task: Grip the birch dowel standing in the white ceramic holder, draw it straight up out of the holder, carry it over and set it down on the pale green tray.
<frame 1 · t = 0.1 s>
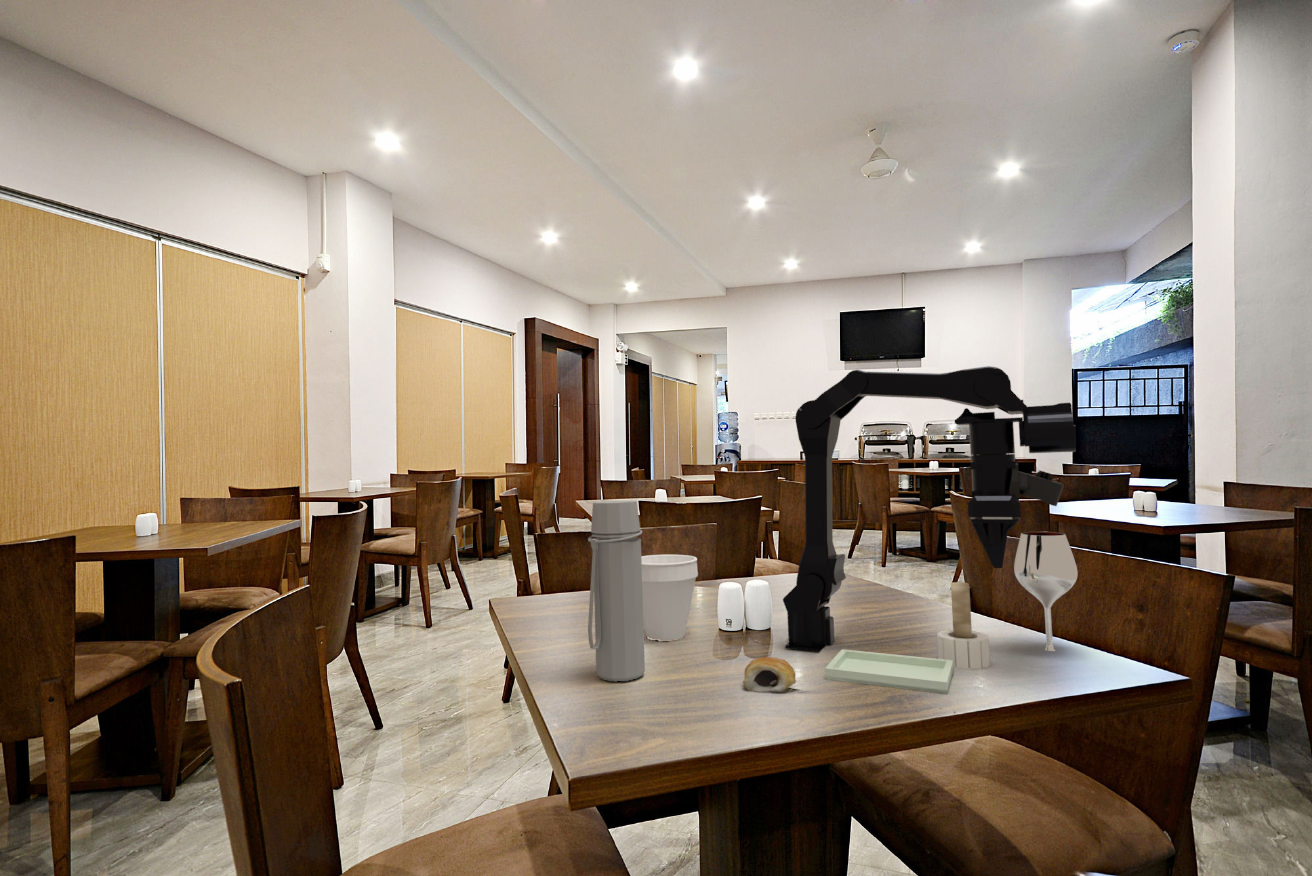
hand: (998, 563, 94), 14 cm above the table, tool pointing down, fingers open, 9 cm apart
wineglass: (1050, 656, 98), on the table
water bottle: (616, 678, 94), on the table
holder: (964, 667, 94), on the table
tray: (890, 680, 89), on the table
pastry: (769, 686, 90), on the table
dowel: (964, 661, 94), point 1 cm above the table, touching holder
cup: (665, 637, 116), on the table
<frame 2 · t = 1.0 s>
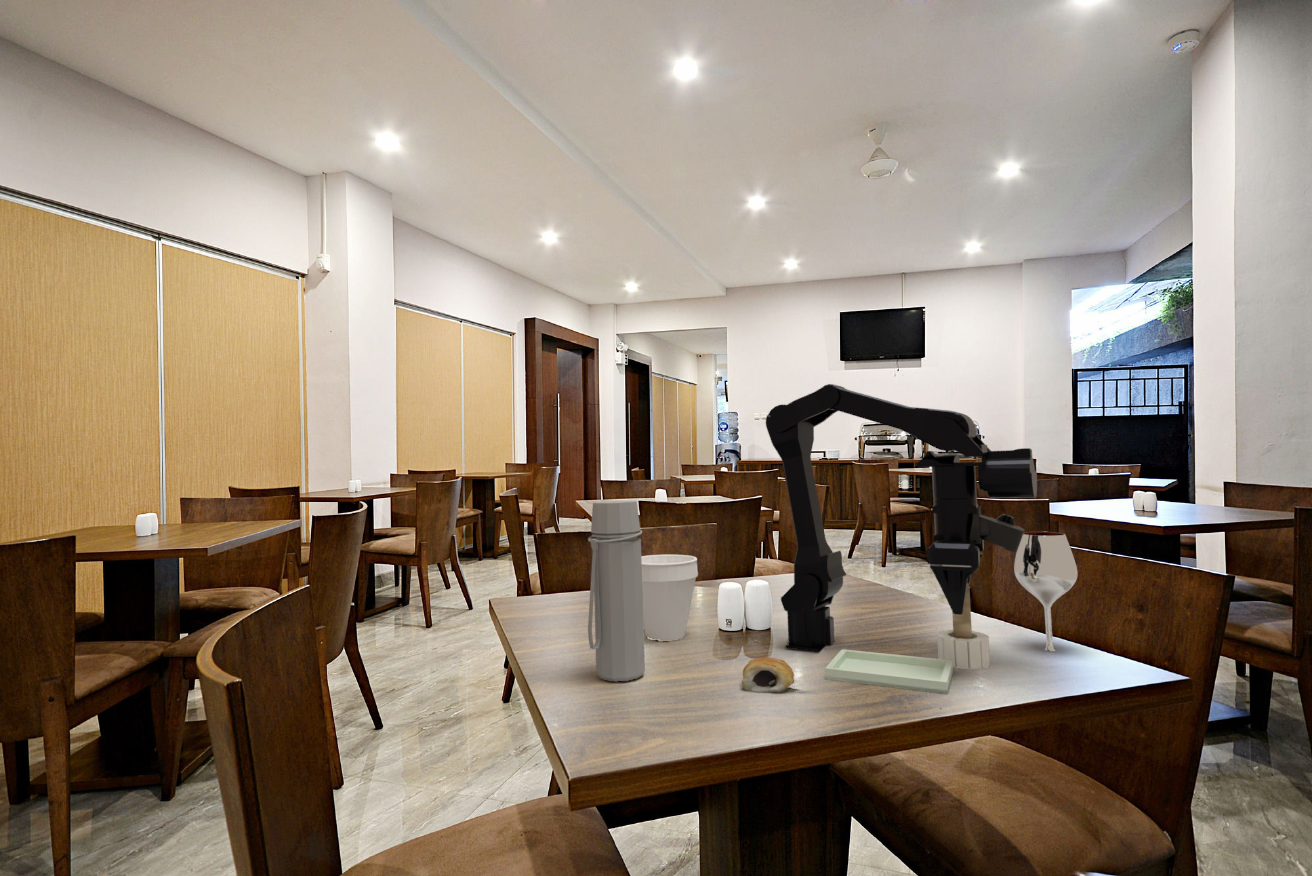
hand: (960, 607, 94), 8 cm above the table, tool pointing down, fingers open, 9 cm apart
nothing on the table moved.
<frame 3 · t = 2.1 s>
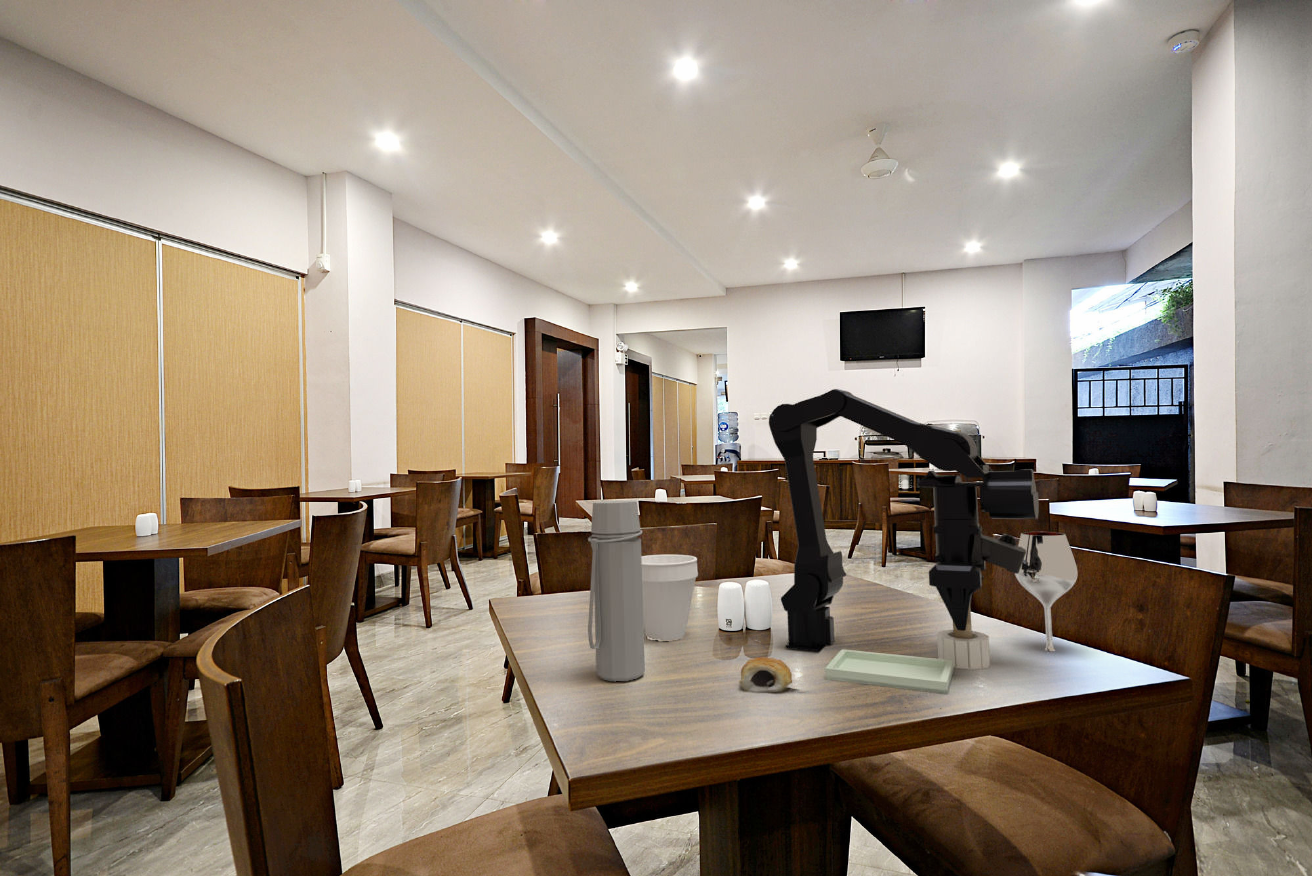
hand: (962, 627, 94), 6 cm above the table, tool pointing down, fingers closed on dowel, 2 cm apart
dowel: (964, 661, 94), point 1 cm above the table, touching gripper, holder
everything else where it was.
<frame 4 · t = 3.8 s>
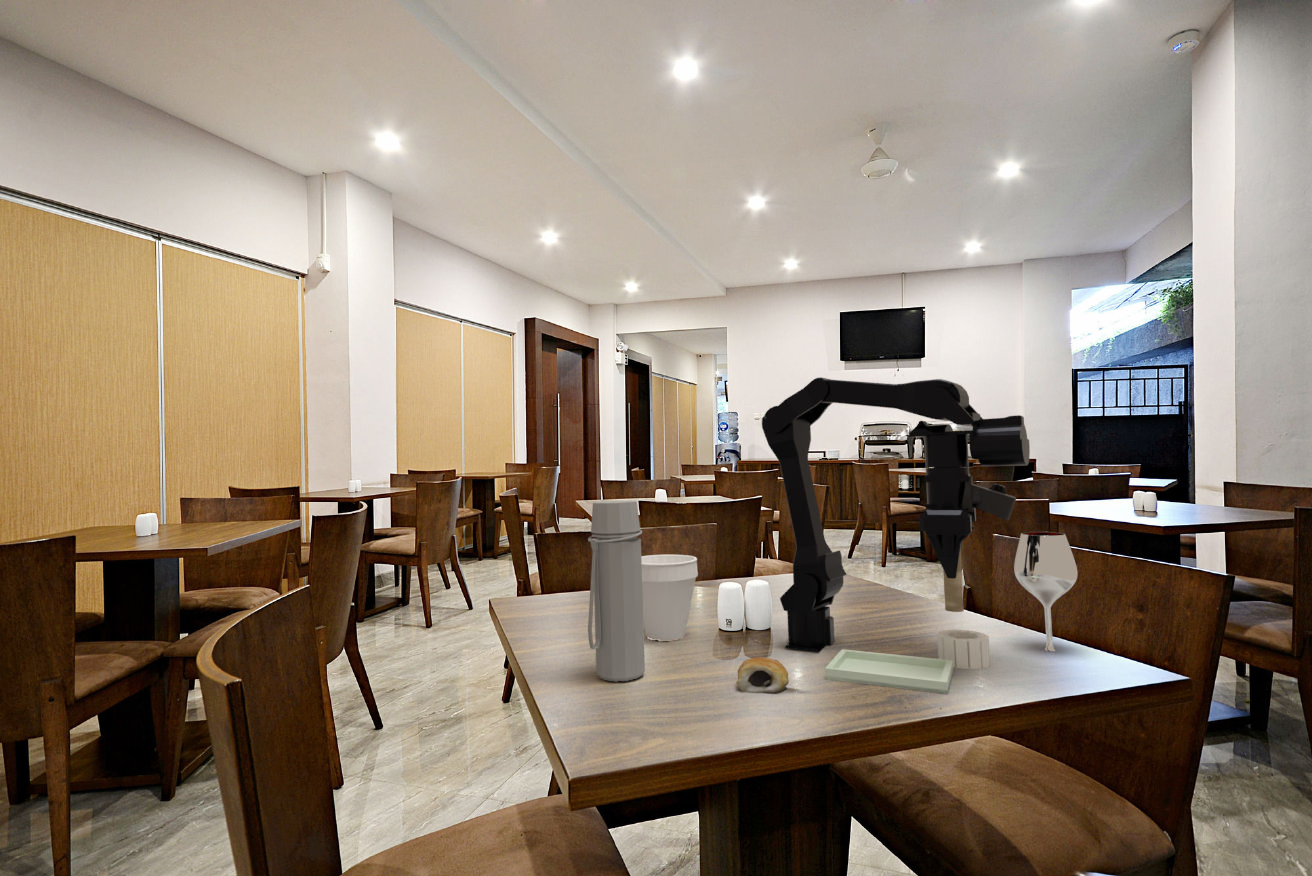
hand: (952, 576, 94), 13 cm above the table, tool pointing down, fingers closed on dowel, 2 cm apart
dowel: (954, 610, 94), point 8 cm above the table, touching gripper
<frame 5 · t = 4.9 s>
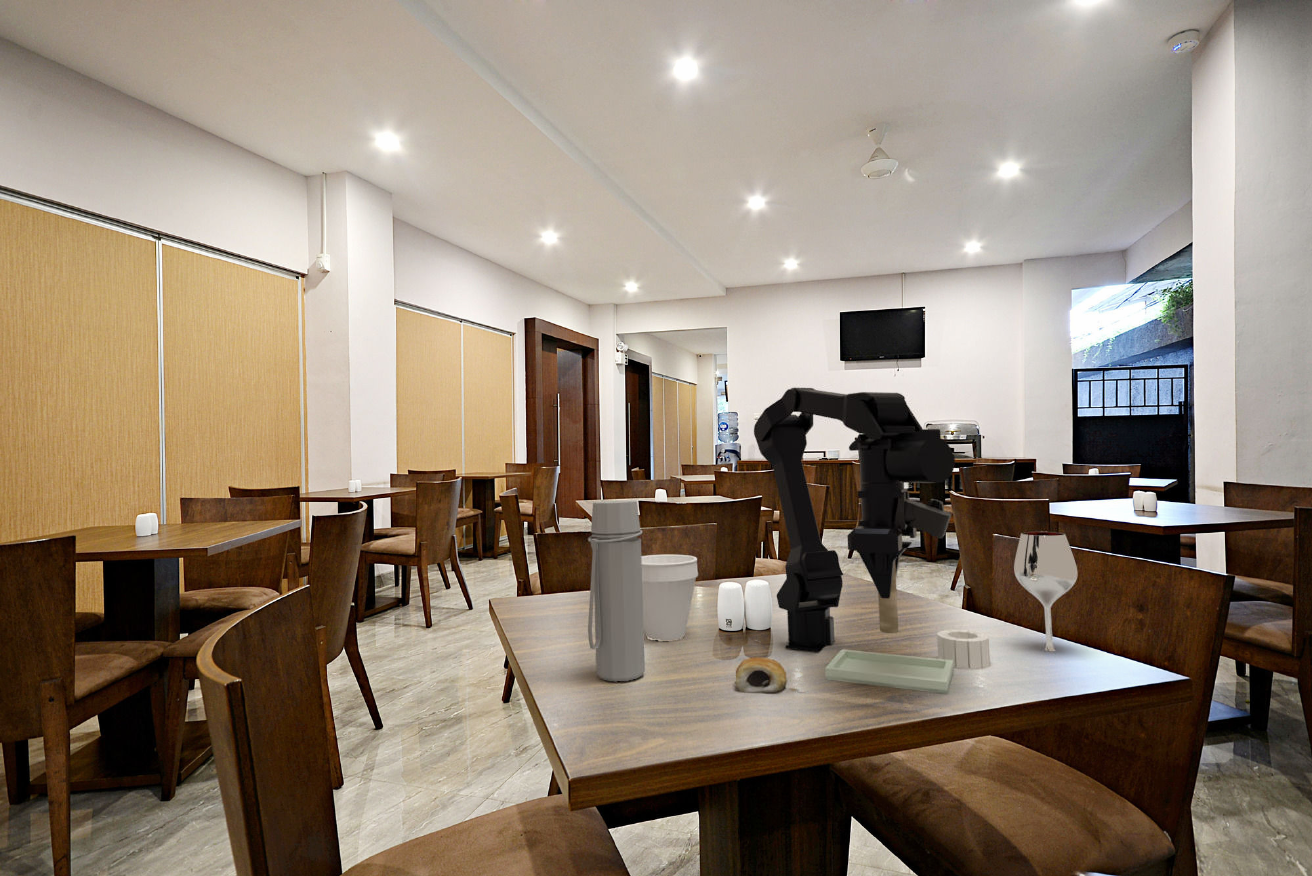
hand: (887, 596, 90), 11 cm above the table, tool pointing down, fingers closed on dowel, 2 cm apart
dowel: (889, 630, 90), point 6 cm above the table, touching gripper
when the fingers open (7 cm above the table, at t = 5.7 s): dowel drops 1 cm, resting on tray.
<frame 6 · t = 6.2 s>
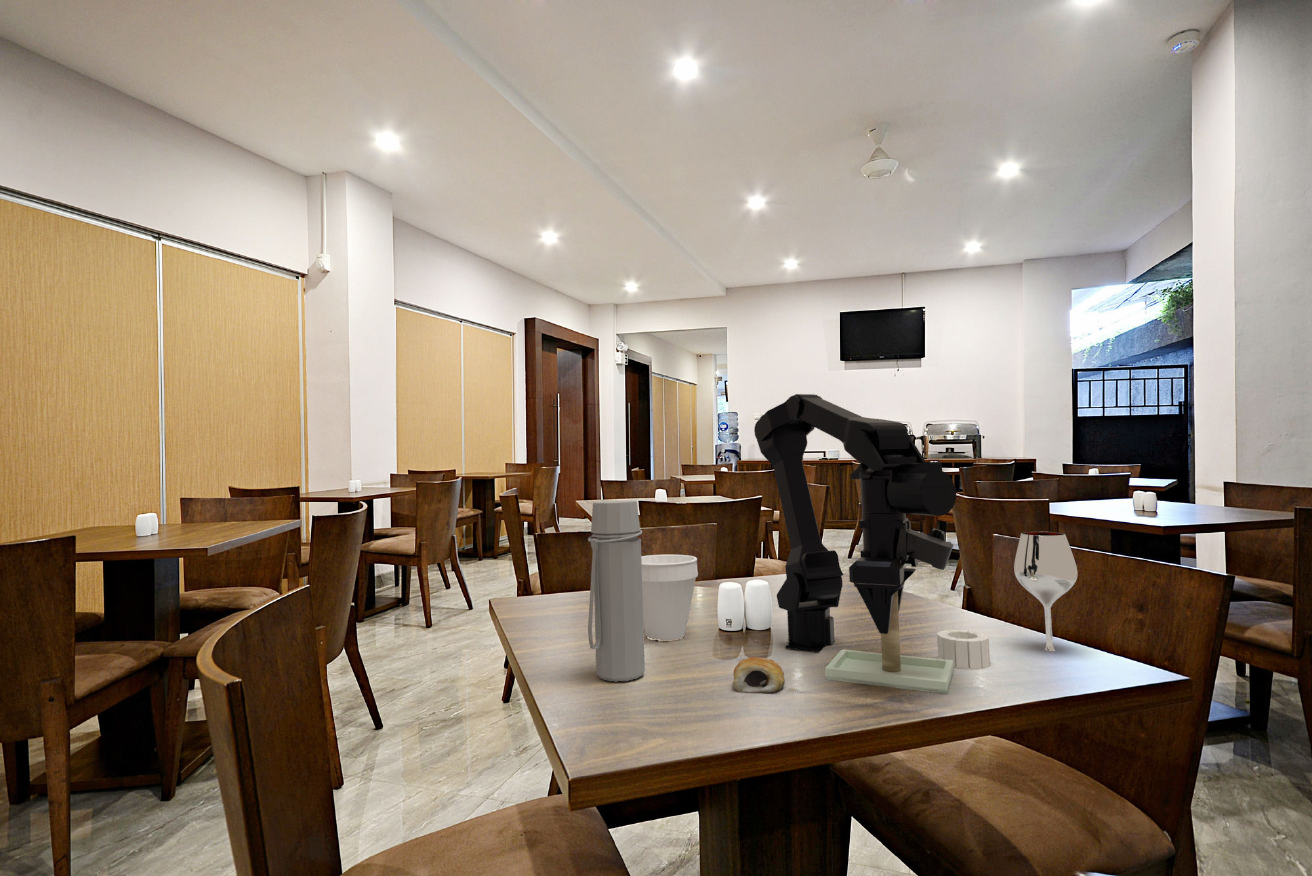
hand: (888, 626, 90), 7 cm above the table, tool pointing down, fingers open, 8 cm apart
dowel: (891, 669, 90), point 1 cm above the table, touching tray
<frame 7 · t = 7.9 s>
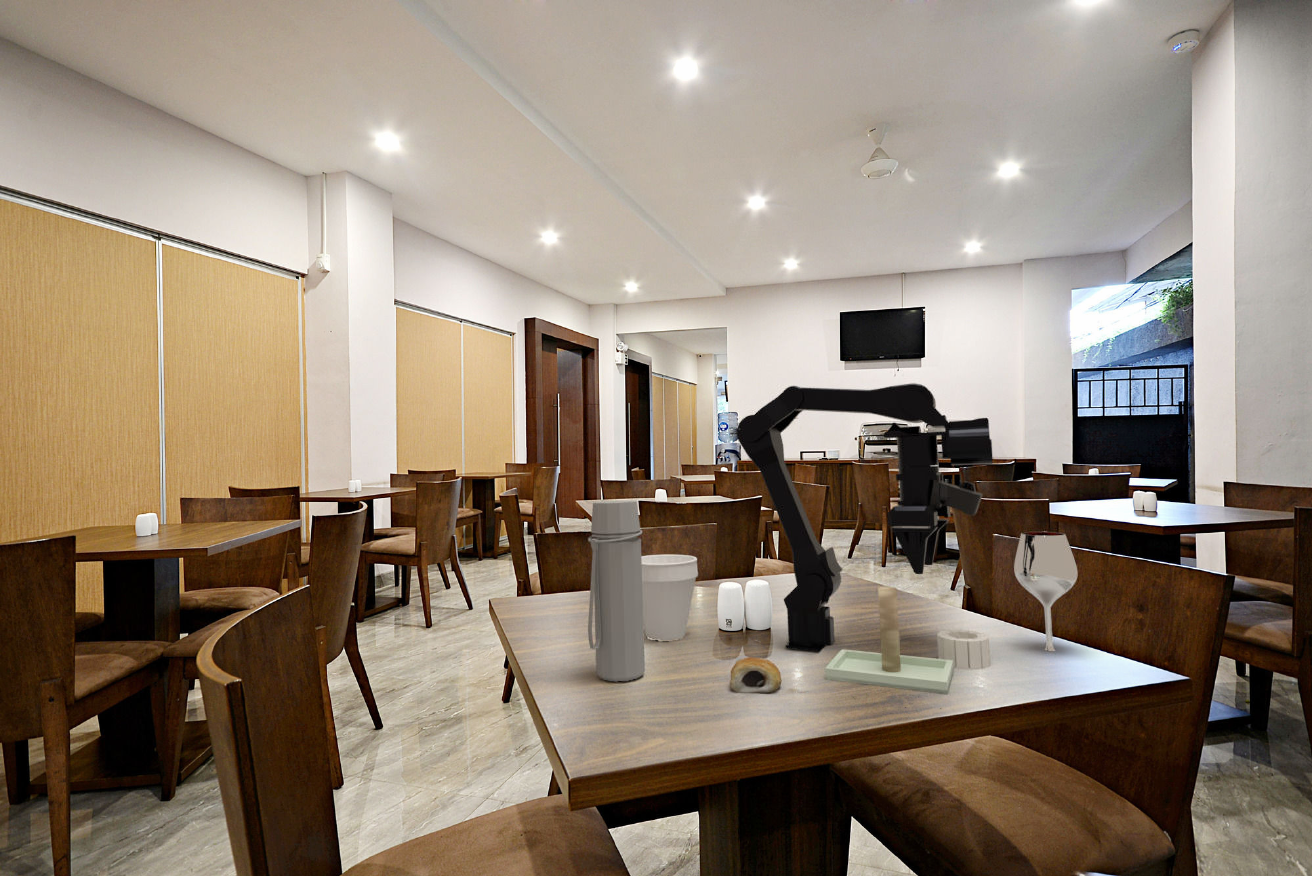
hand: (924, 569, 100), 13 cm above the table, tool pointing down, fingers open, 9 cm apart
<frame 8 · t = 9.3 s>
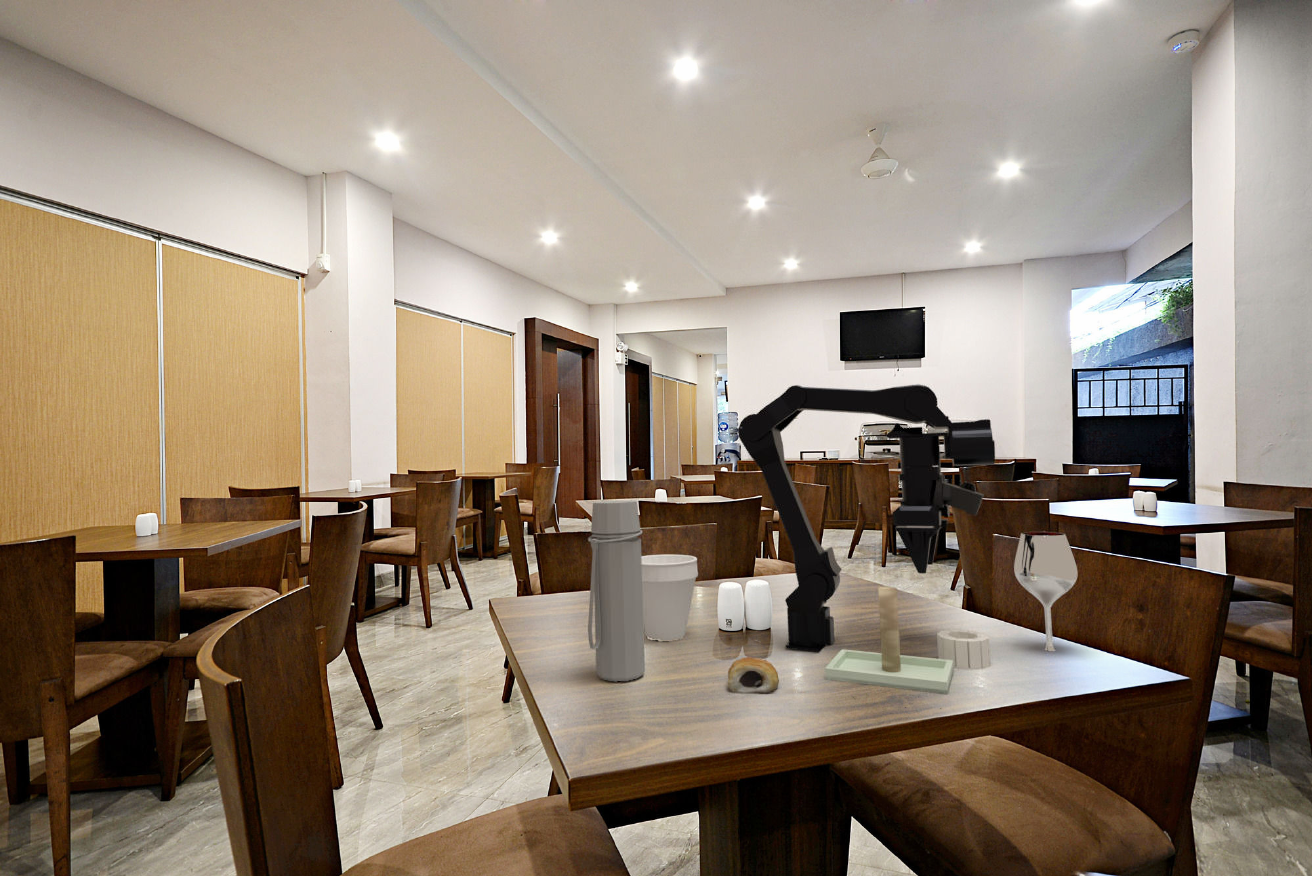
hand: (925, 568, 101), 13 cm above the table, tool pointing down, fingers open, 9 cm apart
at the end: dowel inside the target area on the tray (1.0 cm from its centre), point 1.2 cm above the tray's base; dowel touching tray; the gripper is holding nothing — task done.
